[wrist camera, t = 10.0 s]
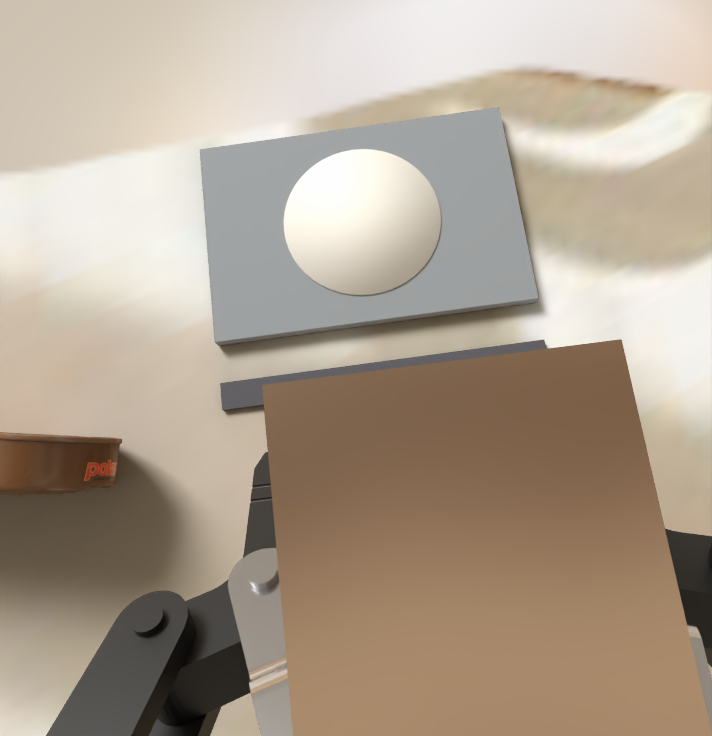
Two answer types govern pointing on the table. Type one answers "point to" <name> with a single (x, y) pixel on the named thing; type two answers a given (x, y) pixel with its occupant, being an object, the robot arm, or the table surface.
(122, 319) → the table surface
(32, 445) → the tin
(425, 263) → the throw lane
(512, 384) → the square wooden post
